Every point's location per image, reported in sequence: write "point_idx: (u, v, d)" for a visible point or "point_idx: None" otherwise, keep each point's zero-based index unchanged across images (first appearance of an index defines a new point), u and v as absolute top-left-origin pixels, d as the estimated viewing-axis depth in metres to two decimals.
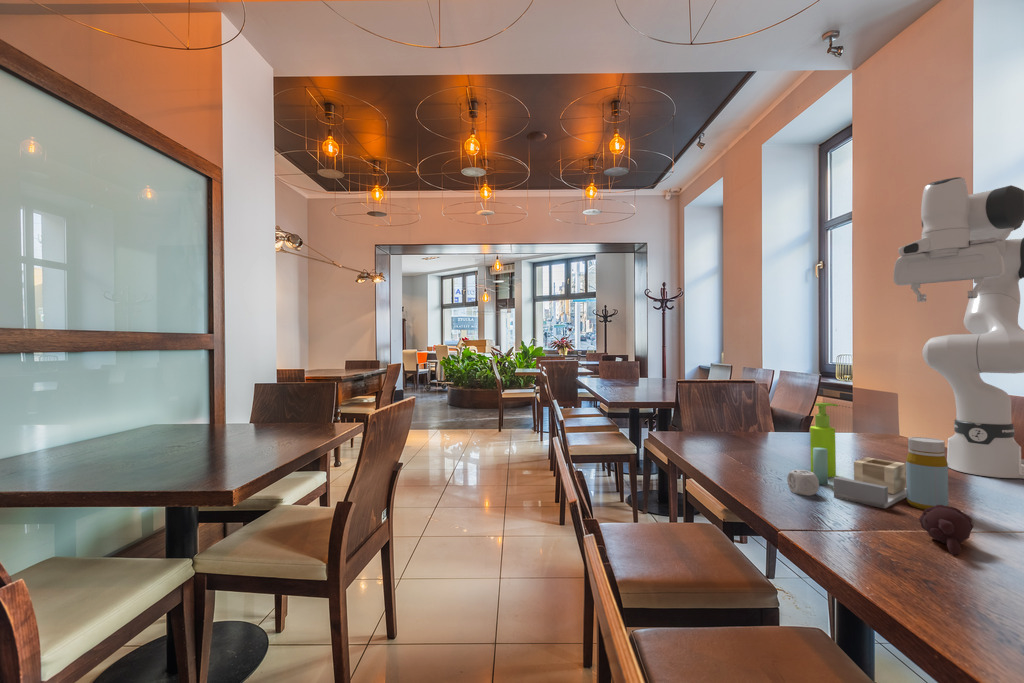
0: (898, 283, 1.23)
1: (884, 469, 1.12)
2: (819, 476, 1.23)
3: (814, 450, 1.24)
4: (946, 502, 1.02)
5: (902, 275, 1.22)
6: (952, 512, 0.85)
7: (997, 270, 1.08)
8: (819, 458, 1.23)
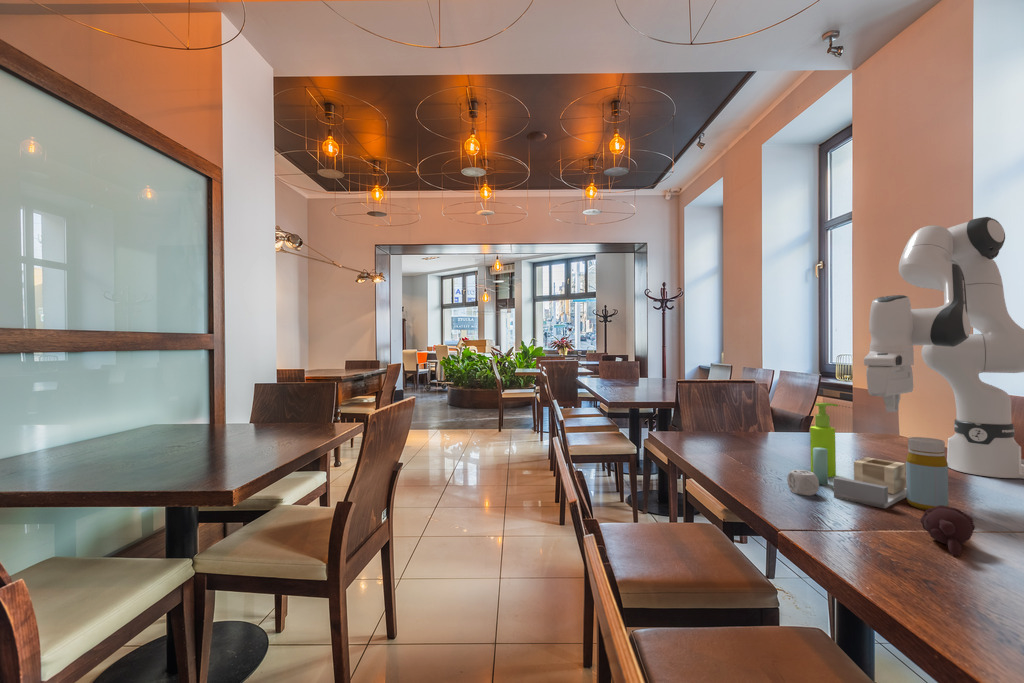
0: (886, 395, 1.15)
1: (884, 469, 1.12)
2: (819, 476, 1.23)
3: (814, 450, 1.24)
4: (946, 502, 1.02)
5: (888, 387, 1.15)
6: (954, 513, 0.85)
7: None
8: (819, 458, 1.23)
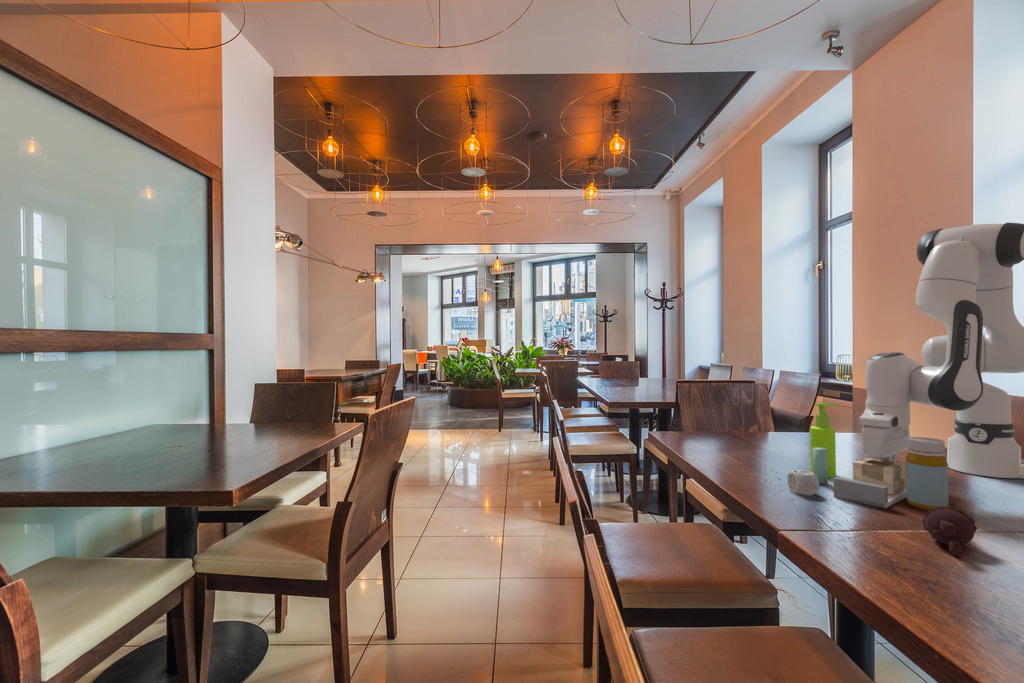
0: (882, 457, 1.13)
1: (883, 469, 1.12)
2: (819, 476, 1.23)
3: (814, 450, 1.24)
4: (946, 502, 1.02)
5: (884, 449, 1.13)
6: (955, 513, 0.85)
7: None
8: (819, 458, 1.23)
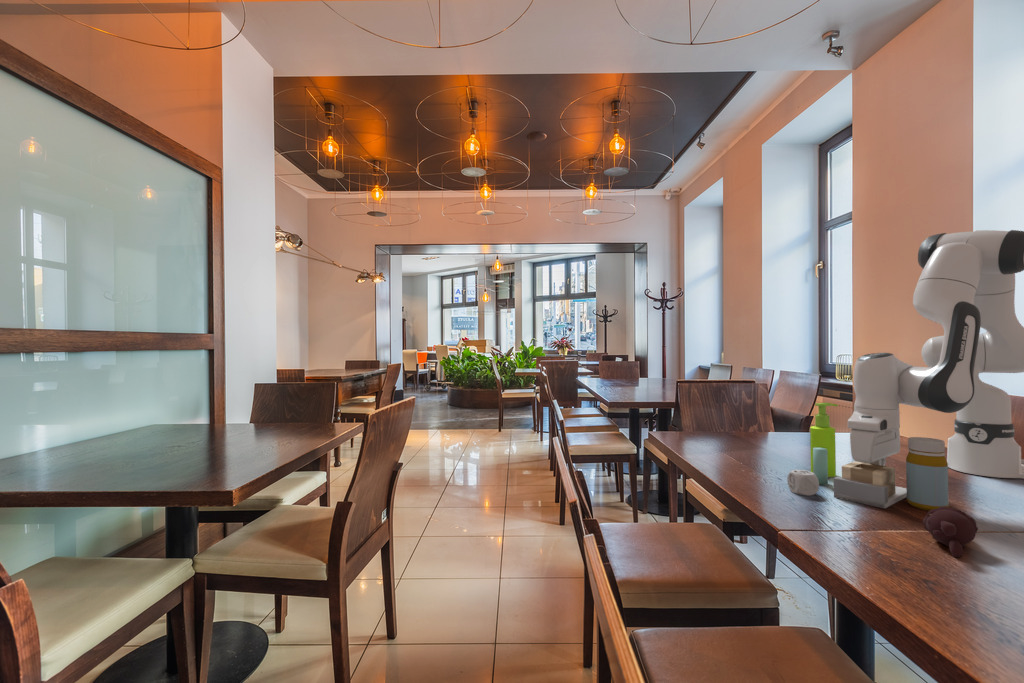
0: (871, 462, 1.09)
1: (872, 473, 1.08)
2: (819, 476, 1.23)
3: (814, 450, 1.24)
4: (946, 502, 1.02)
5: (873, 453, 1.09)
6: (956, 514, 0.84)
7: None
8: (819, 458, 1.23)
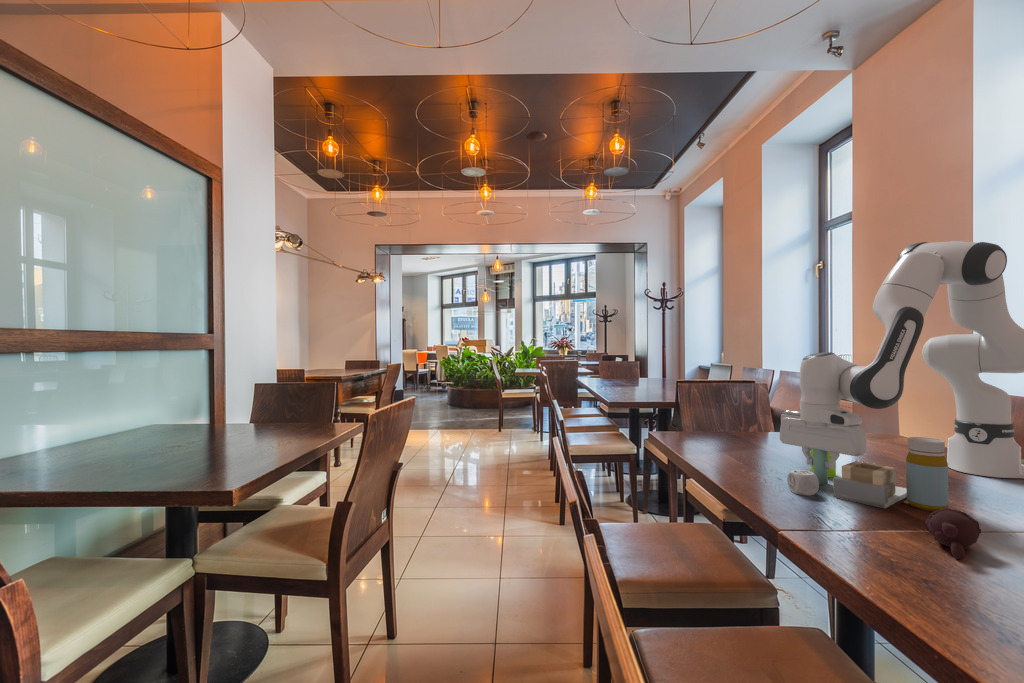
0: None
1: (872, 473, 1.08)
2: (819, 476, 1.23)
3: (814, 450, 1.24)
4: (946, 502, 1.02)
5: None
6: (958, 515, 0.84)
7: None
8: (819, 458, 1.23)
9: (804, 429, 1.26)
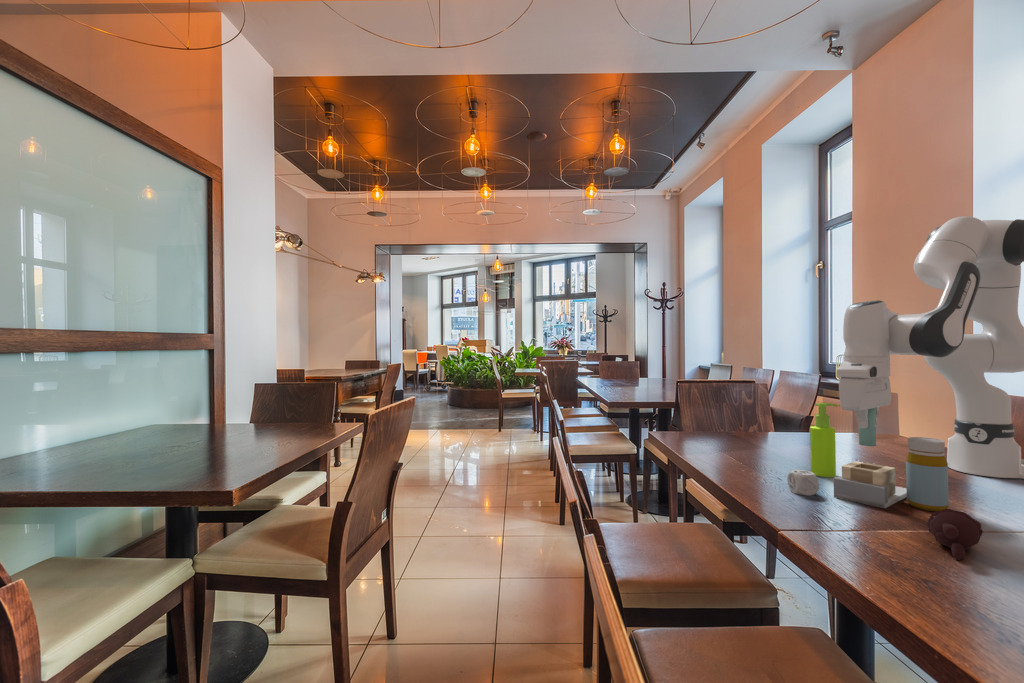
0: (860, 409, 1.06)
1: (872, 473, 1.08)
2: (859, 435, 1.13)
3: None
4: (946, 502, 1.02)
5: (862, 400, 1.06)
6: (960, 516, 0.83)
7: (890, 400, 1.16)
8: None
9: None
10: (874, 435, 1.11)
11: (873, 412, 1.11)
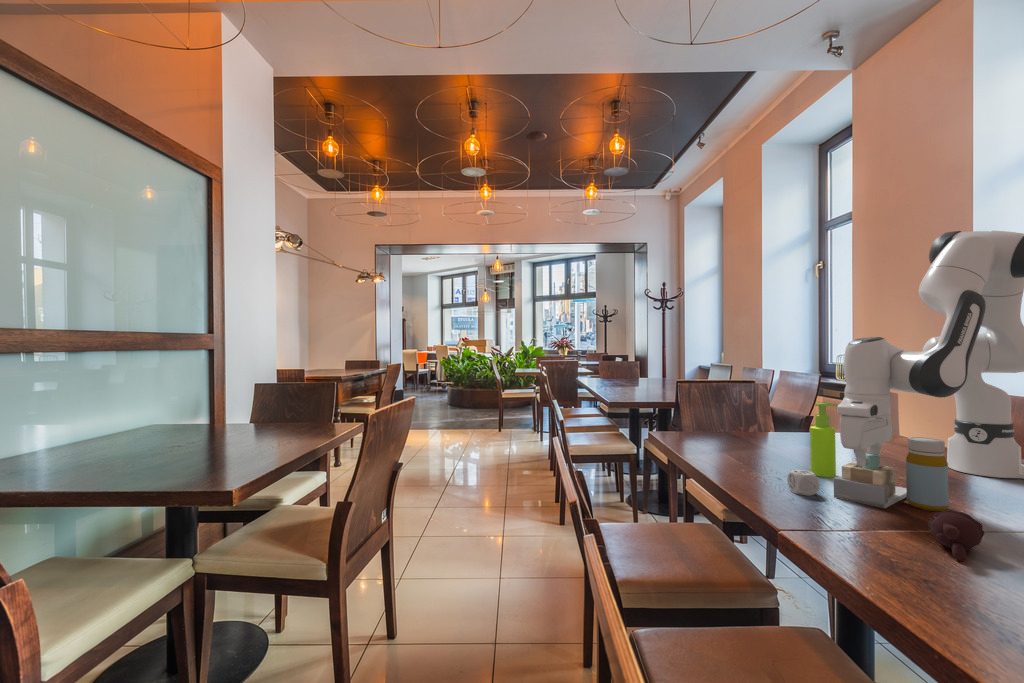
0: (860, 448, 1.06)
1: (872, 473, 1.08)
2: None
3: None
4: (946, 502, 1.02)
5: (863, 439, 1.06)
6: (961, 517, 0.83)
7: (891, 435, 1.16)
8: None
9: None
10: None
11: (877, 461, 1.10)
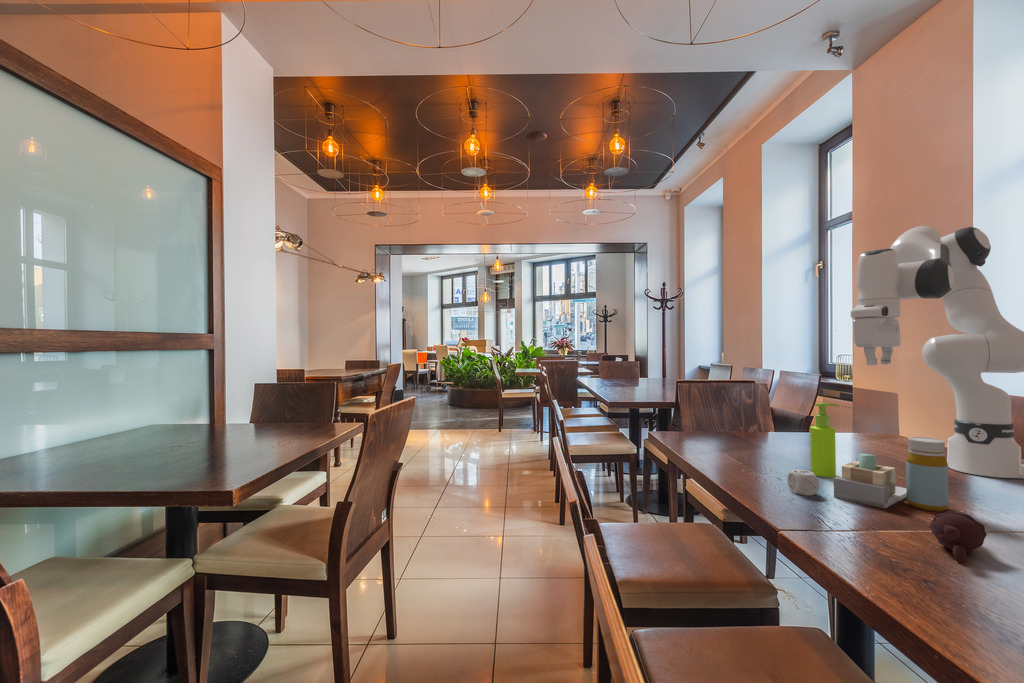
0: (873, 345, 1.15)
1: (872, 473, 1.08)
2: None
3: None
4: (946, 502, 1.02)
5: (874, 337, 1.16)
6: (963, 518, 0.82)
7: None
8: (859, 464, 1.13)
9: None
10: None
11: (874, 460, 1.11)
